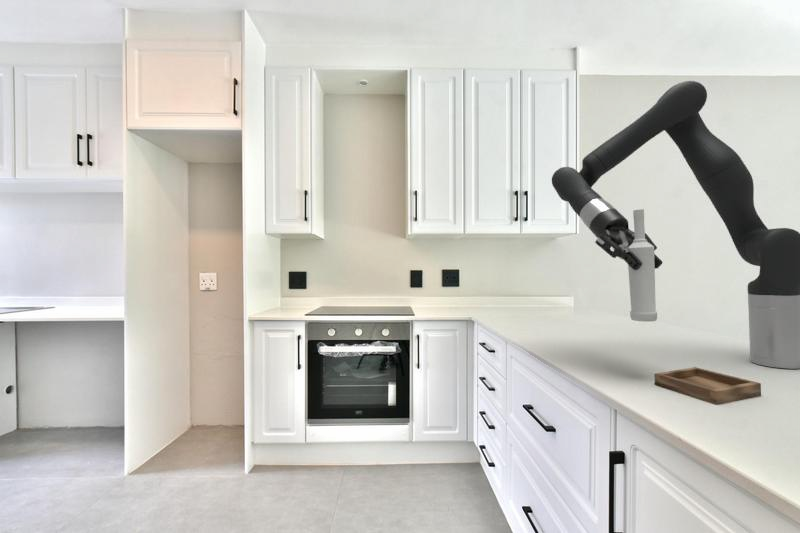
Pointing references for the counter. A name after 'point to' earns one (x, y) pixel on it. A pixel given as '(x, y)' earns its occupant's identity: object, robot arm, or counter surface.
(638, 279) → the bottle
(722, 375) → the walnut tray
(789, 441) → the counter surface
